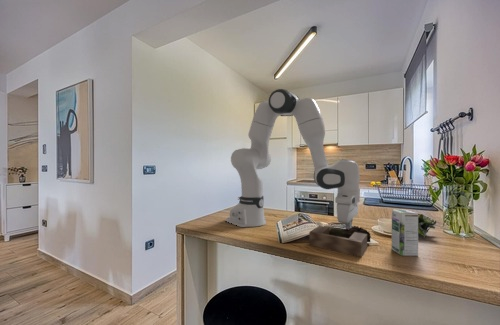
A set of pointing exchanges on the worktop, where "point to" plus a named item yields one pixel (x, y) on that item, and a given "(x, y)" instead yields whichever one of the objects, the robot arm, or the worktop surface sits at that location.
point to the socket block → (338, 241)
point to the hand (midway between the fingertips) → (348, 228)
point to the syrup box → (405, 232)
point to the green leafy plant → (424, 224)
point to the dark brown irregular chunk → (347, 232)
